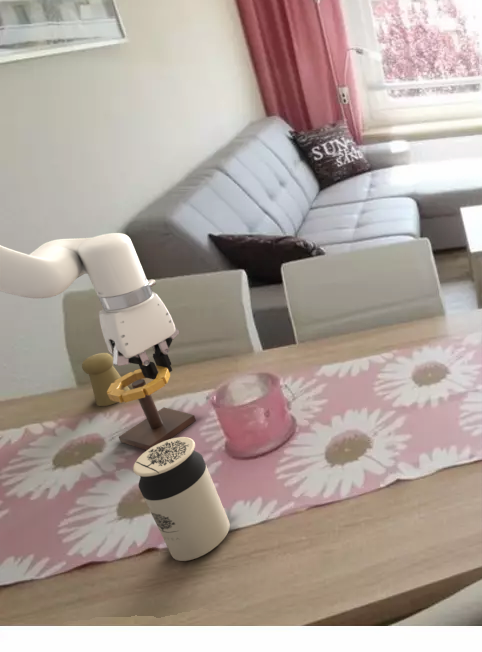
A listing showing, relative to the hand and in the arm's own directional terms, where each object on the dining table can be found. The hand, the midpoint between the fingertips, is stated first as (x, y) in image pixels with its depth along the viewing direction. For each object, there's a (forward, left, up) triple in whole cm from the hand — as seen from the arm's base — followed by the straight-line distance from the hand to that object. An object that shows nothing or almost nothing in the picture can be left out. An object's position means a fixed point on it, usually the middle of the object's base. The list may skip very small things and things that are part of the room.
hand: (159, 373), depth 110 cm
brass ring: (-4, 0, 0) cm, 4 cm away
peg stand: (-4, 0, -12) cm, 12 cm away
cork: (+1, +22, -12) cm, 25 cm away
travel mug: (-20, -33, -12) cm, 40 cm away
